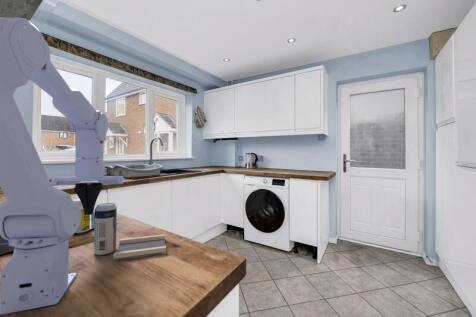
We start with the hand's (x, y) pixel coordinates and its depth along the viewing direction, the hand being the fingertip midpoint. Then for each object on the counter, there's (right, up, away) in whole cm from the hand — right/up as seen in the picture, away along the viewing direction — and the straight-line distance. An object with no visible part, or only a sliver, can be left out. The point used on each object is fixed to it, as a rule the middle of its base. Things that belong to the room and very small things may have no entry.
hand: (89, 214), depth 53 cm
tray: (+12, -10, +3) cm, 16 cm away
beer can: (+3, -10, +1) cm, 11 cm away
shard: (-10, -11, +7) cm, 16 cm away
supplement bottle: (-14, -10, +16) cm, 24 cm away
